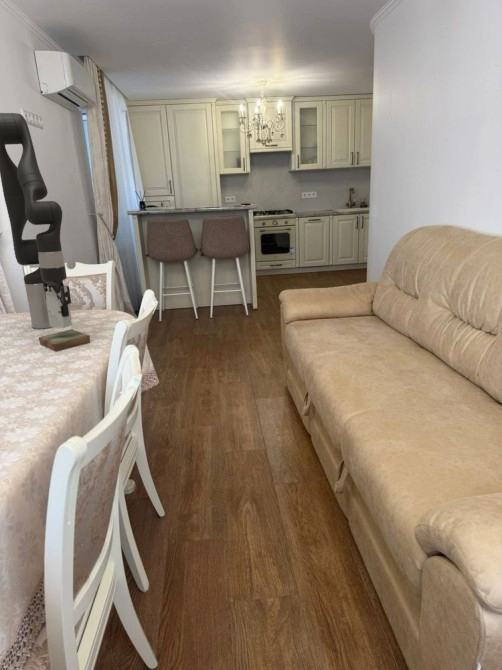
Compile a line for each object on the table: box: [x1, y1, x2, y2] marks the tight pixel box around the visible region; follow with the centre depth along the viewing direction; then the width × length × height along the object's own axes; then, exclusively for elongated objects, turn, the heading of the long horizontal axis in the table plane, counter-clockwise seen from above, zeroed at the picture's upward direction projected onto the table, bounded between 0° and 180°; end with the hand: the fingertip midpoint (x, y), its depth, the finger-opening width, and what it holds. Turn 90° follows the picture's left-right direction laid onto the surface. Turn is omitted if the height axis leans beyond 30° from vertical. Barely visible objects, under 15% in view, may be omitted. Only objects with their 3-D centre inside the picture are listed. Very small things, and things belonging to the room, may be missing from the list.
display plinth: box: [38, 328, 91, 352], centre depth 152 cm, size 12×12×3 cm
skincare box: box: [45, 291, 73, 329], centre depth 149 cm, size 6×4×12 cm
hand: (60, 314), depth 149 cm, fingers closed on skincare box, 7 cm apart
